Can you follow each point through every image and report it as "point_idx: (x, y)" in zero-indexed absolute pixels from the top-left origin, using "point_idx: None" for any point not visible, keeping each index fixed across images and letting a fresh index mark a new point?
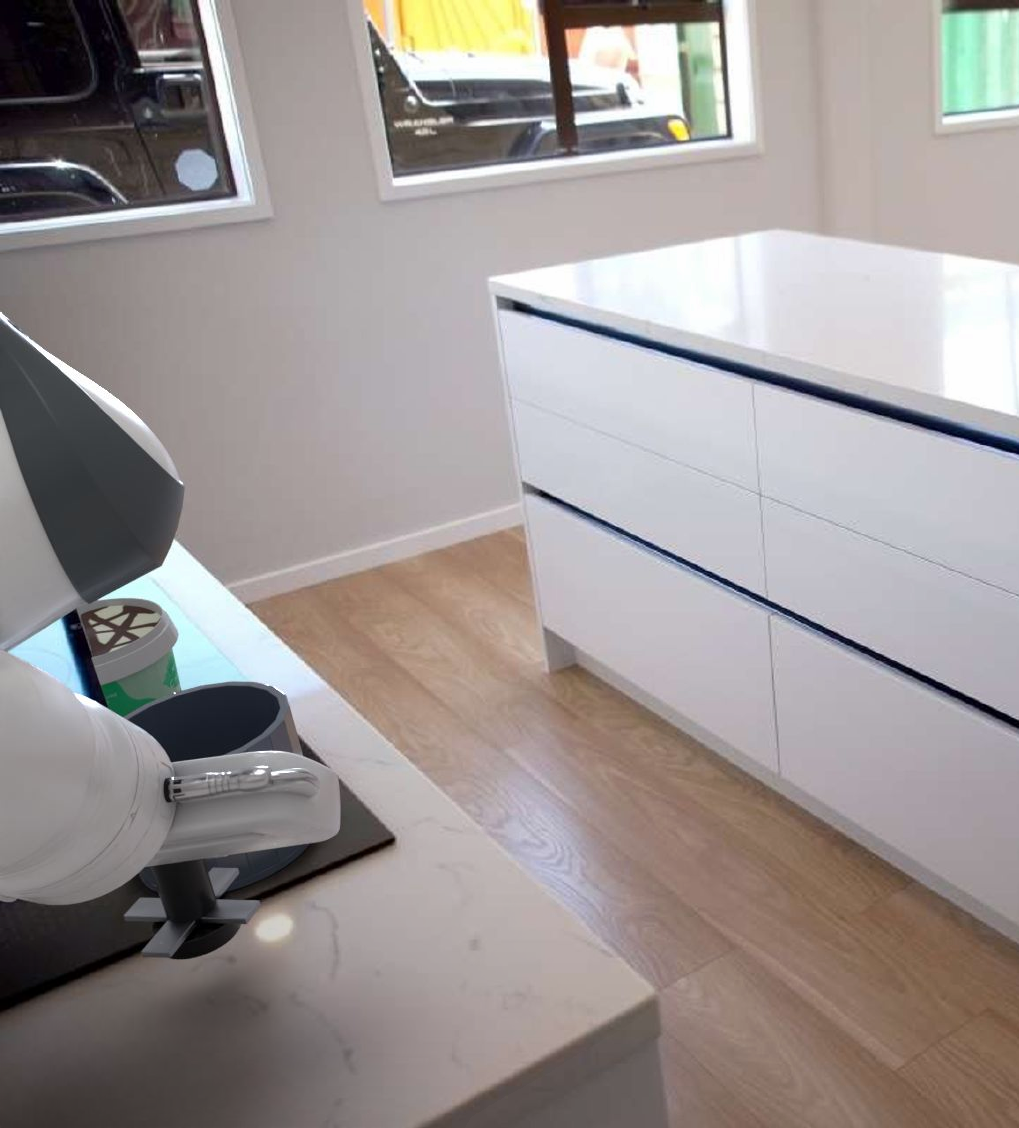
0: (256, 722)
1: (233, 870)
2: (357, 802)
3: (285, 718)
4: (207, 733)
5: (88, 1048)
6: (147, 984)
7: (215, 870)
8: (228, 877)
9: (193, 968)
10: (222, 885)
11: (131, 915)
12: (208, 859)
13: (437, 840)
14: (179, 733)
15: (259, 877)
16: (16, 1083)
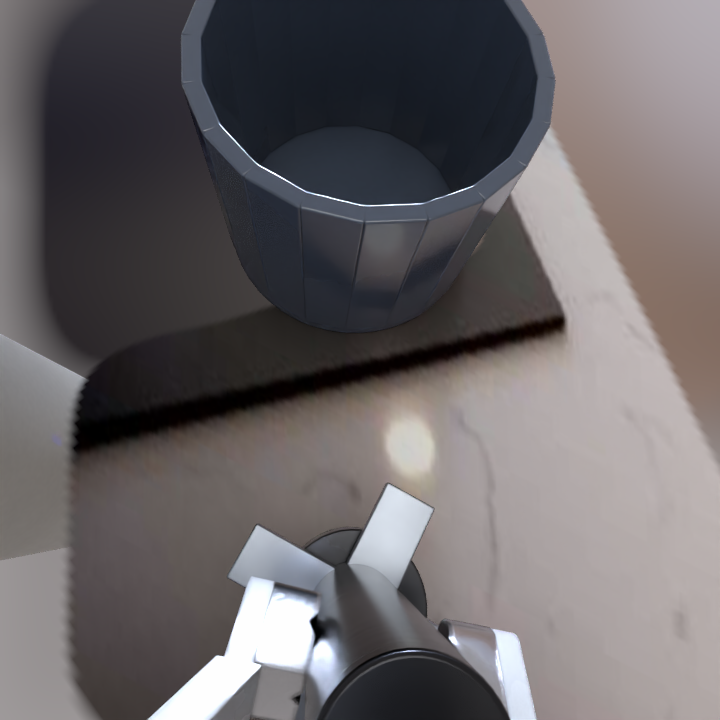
0: (442, 44)
1: (427, 515)
2: (513, 212)
3: (550, 118)
4: (357, 29)
5: (164, 606)
6: (243, 493)
7: (393, 497)
8: (419, 536)
9: (303, 487)
10: (409, 558)
11: (241, 584)
12: (340, 310)
13: (620, 352)
14: (317, 16)
15: (391, 326)
16: (68, 641)
